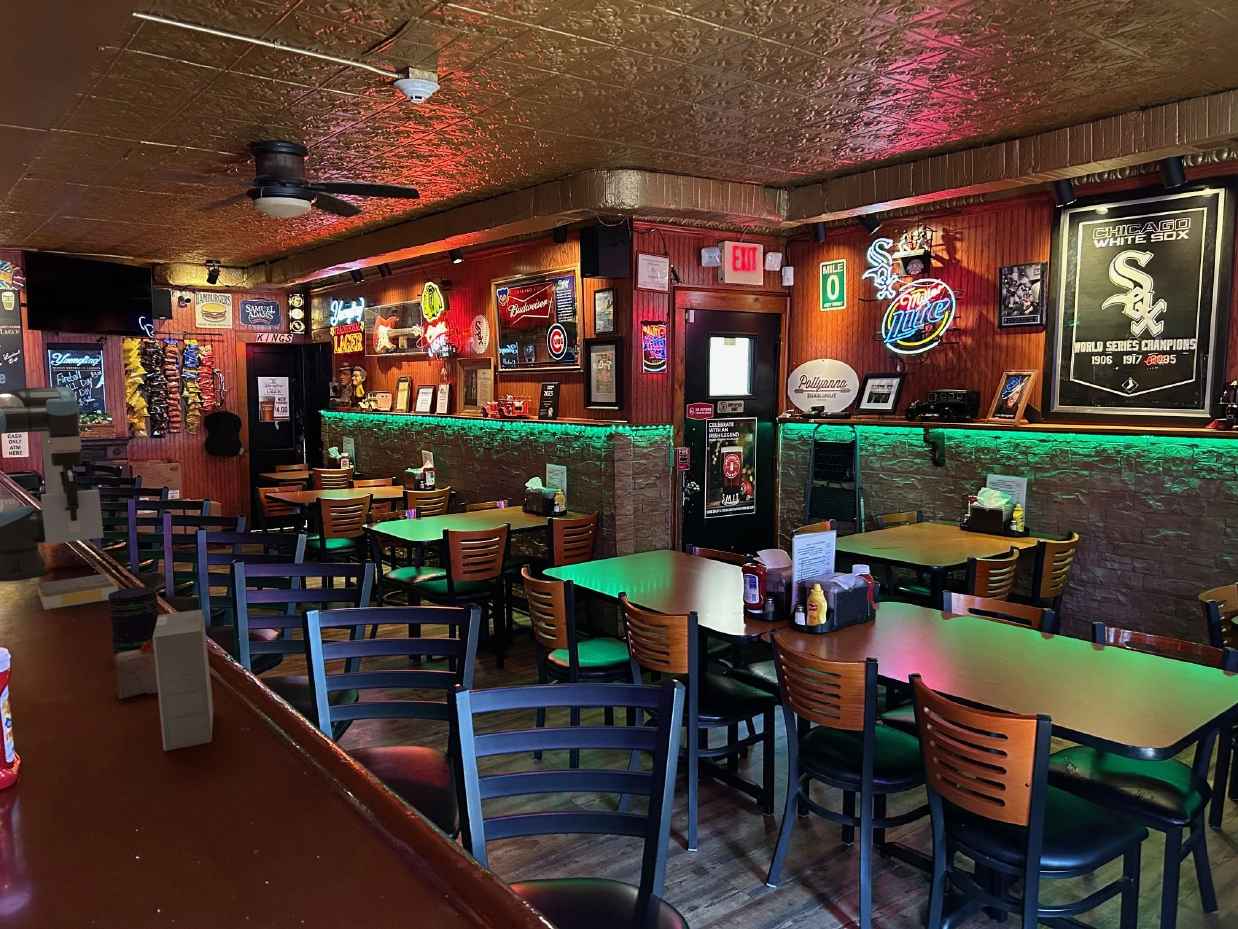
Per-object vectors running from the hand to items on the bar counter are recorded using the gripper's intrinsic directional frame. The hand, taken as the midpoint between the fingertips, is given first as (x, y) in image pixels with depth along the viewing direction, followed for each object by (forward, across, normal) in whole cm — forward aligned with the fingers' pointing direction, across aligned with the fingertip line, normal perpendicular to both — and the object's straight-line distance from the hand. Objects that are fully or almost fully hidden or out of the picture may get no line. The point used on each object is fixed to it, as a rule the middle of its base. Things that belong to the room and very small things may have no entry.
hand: (73, 530), depth 250 cm
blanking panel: (+3, 0, 0) cm, 3 cm away
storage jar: (+22, +74, +5) cm, 77 cm away
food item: (+22, +102, +4) cm, 104 cm away
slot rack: (+21, -8, 0) cm, 22 cm away
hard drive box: (+22, +131, +5) cm, 133 cm away
